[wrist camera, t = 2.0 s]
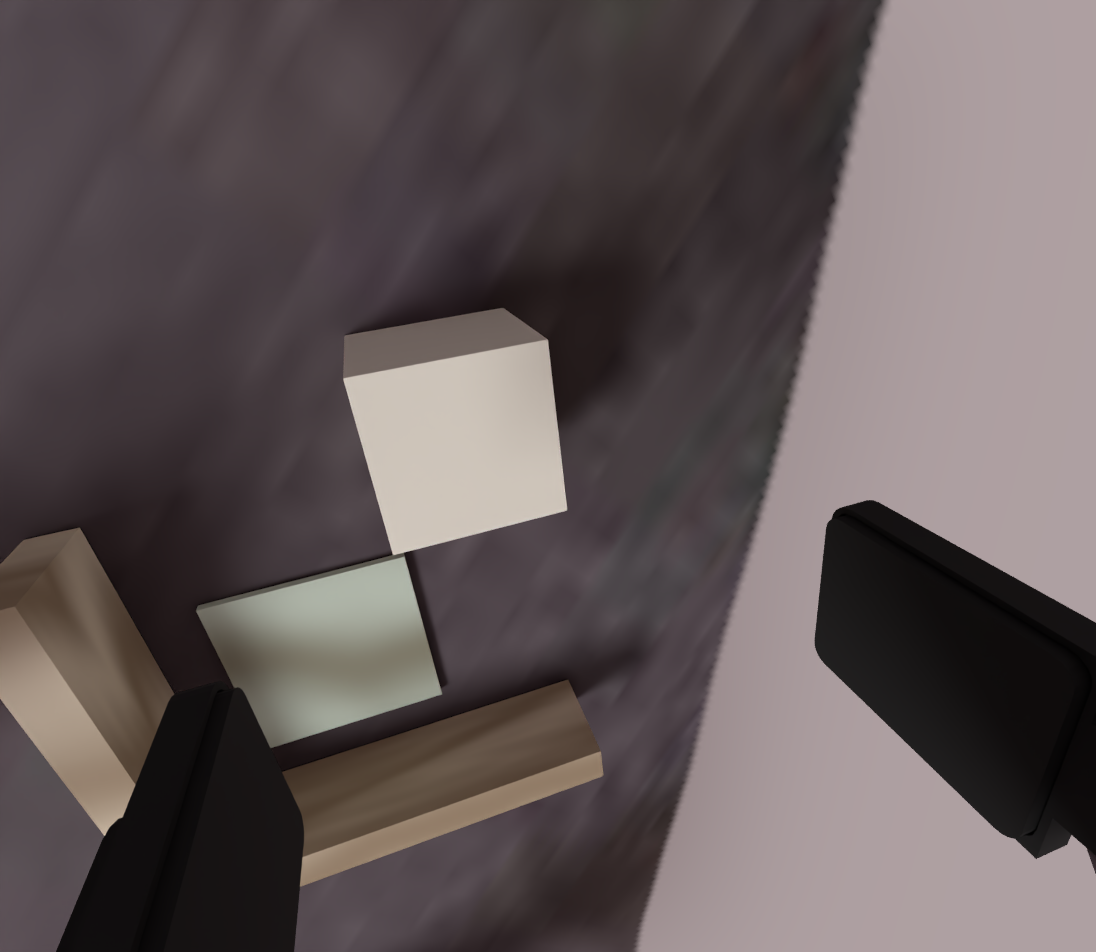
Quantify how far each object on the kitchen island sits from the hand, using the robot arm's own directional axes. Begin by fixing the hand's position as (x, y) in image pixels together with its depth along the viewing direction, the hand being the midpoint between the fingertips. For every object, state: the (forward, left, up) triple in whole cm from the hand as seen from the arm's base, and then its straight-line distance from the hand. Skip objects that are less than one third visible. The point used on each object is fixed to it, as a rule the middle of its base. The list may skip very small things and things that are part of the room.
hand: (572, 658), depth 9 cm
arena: (+7, -5, -12) cm, 15 cm away
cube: (-1, 0, -12) cm, 12 cm away
